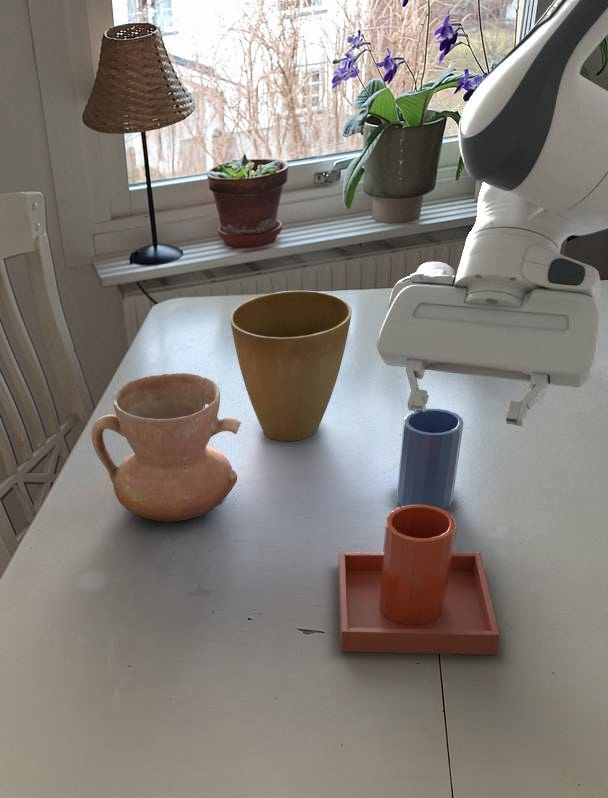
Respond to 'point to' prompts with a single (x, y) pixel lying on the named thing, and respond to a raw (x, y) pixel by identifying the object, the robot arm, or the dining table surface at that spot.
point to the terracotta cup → (416, 564)
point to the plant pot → (290, 357)
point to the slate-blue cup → (429, 458)
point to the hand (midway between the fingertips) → (463, 416)
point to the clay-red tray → (449, 634)
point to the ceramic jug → (168, 447)
